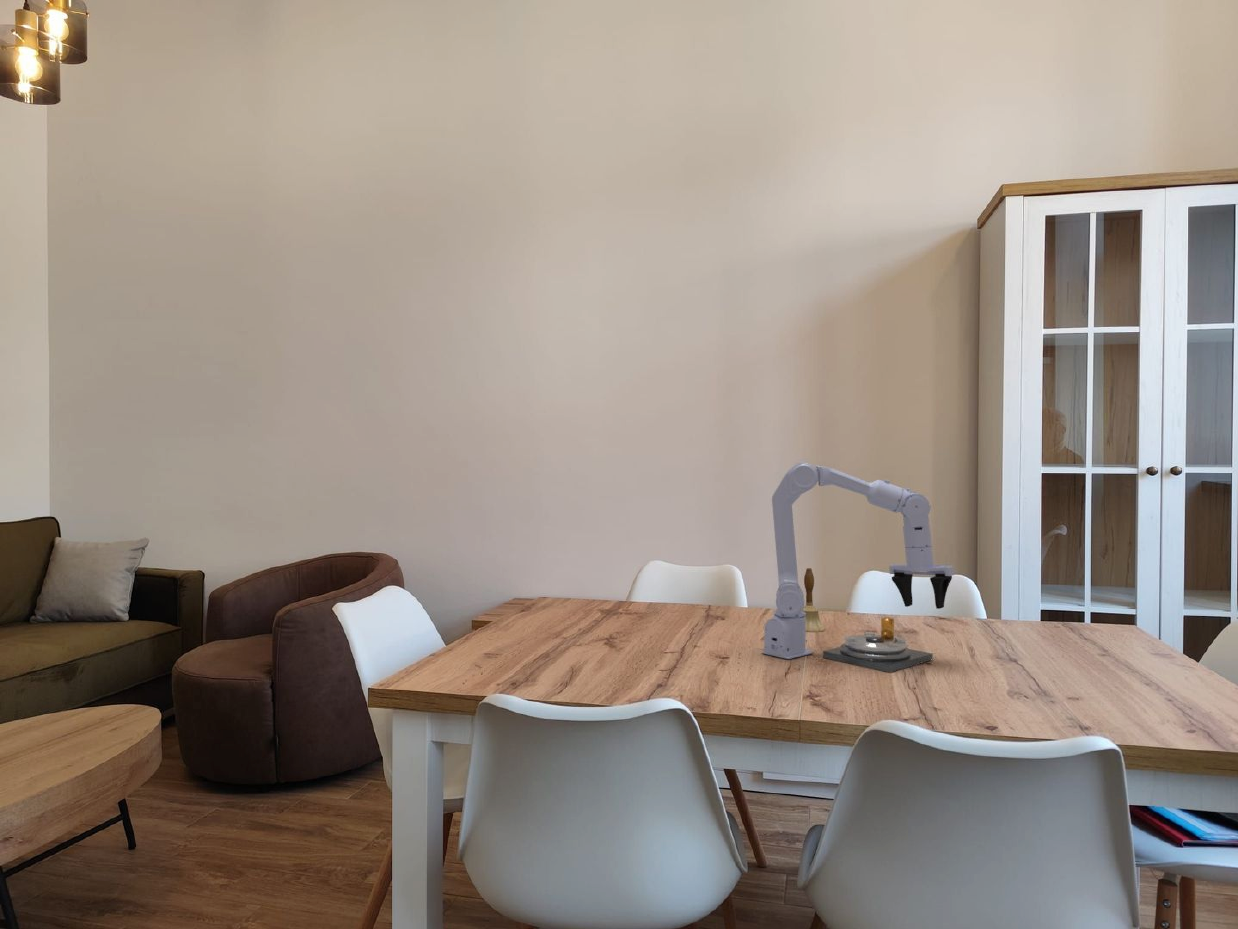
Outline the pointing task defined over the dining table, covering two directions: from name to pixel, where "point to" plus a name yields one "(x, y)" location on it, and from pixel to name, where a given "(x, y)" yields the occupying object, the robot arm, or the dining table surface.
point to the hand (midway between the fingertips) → (924, 606)
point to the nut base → (878, 658)
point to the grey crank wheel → (877, 640)
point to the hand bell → (811, 605)
